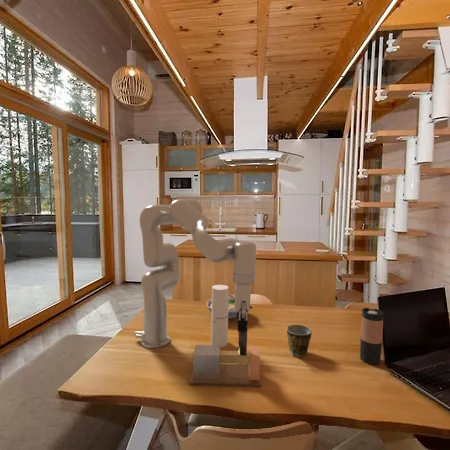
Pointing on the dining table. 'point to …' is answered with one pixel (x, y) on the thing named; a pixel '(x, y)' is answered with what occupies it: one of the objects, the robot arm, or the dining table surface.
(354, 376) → the dining table surface
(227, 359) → the sliding bolt with handle
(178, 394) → the dining table surface
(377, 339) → the travel mug
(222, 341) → the cylindrical container
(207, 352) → the brown wooden base board
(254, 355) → the socket
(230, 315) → the ramen bowl
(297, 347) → the ceramic cup
